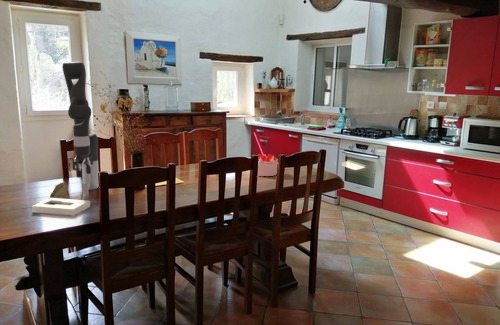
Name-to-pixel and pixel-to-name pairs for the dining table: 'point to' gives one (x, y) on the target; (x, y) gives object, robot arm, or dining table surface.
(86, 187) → the bolt
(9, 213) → the dining table surface
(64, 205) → the keyhole board
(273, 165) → the cake
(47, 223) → the dining table surface
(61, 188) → the rock
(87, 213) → the dining table surface
